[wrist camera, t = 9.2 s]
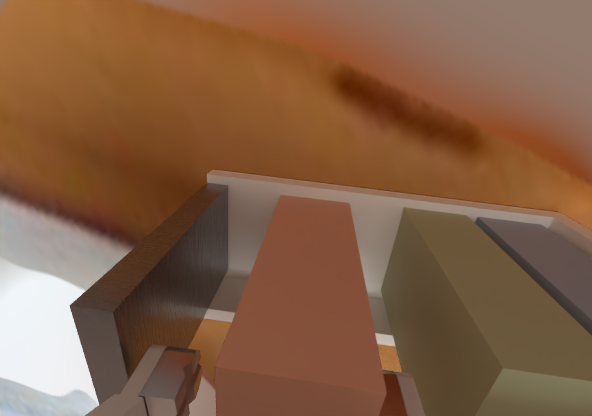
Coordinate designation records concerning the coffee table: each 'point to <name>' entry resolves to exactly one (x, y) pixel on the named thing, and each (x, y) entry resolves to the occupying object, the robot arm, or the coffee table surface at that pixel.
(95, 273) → the coffee table surface
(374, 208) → the shelf
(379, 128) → the coffee table surface
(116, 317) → the bookend
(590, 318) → the slate book
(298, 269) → the tall salmon box
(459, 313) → the olive book
